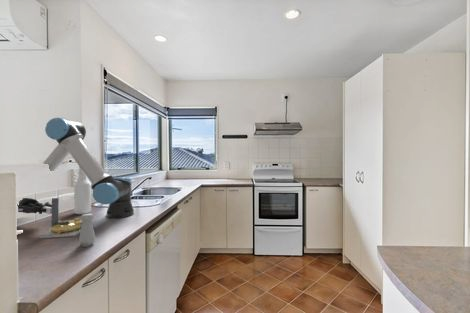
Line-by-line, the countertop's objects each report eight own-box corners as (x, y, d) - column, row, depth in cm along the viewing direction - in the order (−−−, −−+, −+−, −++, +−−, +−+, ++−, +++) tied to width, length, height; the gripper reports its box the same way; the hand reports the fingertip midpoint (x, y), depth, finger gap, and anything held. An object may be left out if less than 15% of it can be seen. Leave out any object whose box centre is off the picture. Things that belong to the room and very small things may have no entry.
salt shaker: (86, 241, 97) (86, 211, 97) (98, 242, 96) (98, 212, 96) (75, 247, 91) (75, 215, 91) (88, 248, 91) (88, 216, 90)
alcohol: (70, 213, 139) (70, 165, 138) (83, 210, 147) (83, 164, 147) (82, 215, 137) (82, 166, 136) (94, 211, 145) (94, 165, 145)
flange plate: (90, 223, 121) (90, 220, 121) (75, 235, 103) (75, 232, 103) (60, 225, 117) (60, 222, 117) (39, 238, 100) (39, 234, 100)
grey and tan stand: (83, 222, 119) (83, 194, 119) (83, 229, 109) (83, 198, 108) (51, 226, 112) (52, 196, 112) (49, 234, 101) (49, 201, 101)
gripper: (41, 209, 124) (66, 215, 114) (10, 215, 112) (35, 222, 102) (41, 196, 124) (66, 200, 114) (10, 200, 112) (35, 206, 102)
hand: (51, 210), depth 108 cm, fingers closed
